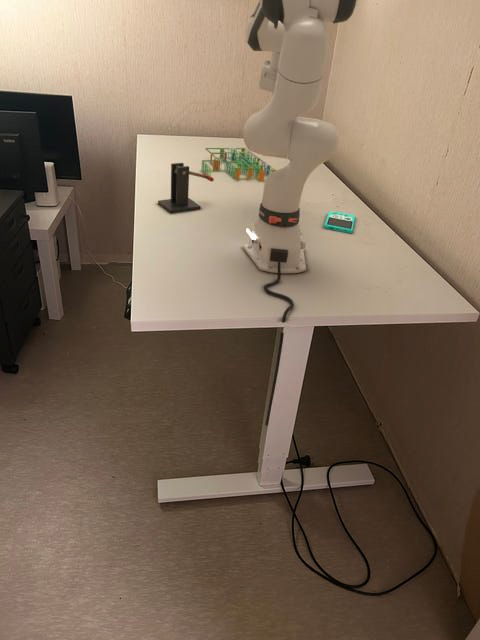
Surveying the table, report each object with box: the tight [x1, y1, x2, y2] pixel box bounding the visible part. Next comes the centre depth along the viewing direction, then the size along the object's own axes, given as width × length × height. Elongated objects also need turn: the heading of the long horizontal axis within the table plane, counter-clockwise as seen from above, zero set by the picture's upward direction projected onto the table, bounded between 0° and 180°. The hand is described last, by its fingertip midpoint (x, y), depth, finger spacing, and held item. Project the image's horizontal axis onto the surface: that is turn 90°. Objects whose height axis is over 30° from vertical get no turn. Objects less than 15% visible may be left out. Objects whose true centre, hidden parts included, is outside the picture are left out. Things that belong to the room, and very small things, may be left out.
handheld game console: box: [323, 211, 356, 234], centre depth 169 cm, size 10×16×1 cm, turn 164°
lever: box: [174, 165, 214, 182], centre depth 163 cm, size 14×5×2 cm, turn 125°
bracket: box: [157, 162, 201, 214], centre depth 163 cm, size 12×10×15 cm
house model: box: [201, 147, 277, 182], centre depth 211 cm, size 35×30×5 cm
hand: (277, 108), depth 159 cm, fingers closed
